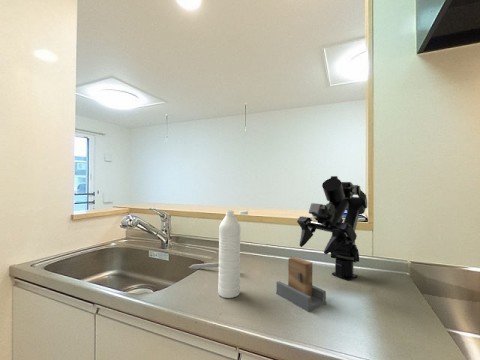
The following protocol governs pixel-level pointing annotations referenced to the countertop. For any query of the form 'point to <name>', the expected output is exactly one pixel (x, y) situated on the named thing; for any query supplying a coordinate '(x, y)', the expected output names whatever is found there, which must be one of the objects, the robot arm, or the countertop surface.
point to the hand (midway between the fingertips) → (312, 249)
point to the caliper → (204, 265)
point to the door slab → (300, 275)
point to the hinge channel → (302, 296)
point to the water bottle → (229, 256)
